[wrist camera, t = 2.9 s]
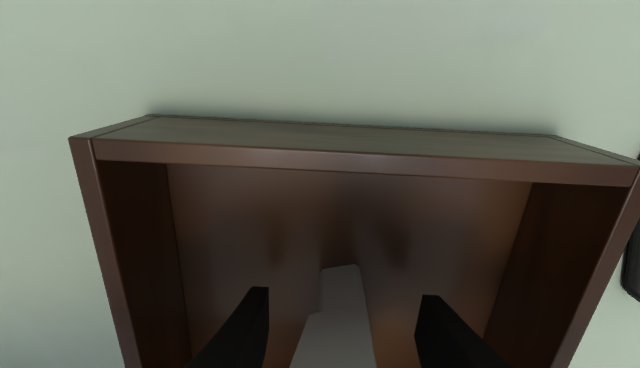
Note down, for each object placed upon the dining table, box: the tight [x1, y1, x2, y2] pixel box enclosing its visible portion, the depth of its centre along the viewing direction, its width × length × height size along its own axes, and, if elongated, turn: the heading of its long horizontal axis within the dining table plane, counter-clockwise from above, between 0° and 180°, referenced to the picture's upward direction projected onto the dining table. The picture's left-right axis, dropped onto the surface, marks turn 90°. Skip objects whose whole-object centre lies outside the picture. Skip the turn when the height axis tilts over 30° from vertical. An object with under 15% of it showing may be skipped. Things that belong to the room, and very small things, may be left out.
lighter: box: [289, 264, 377, 368], centre depth 10 cm, size 7×2×8 cm, turn 11°
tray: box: [68, 114, 640, 368], centre depth 12 cm, size 15×13×4 cm
